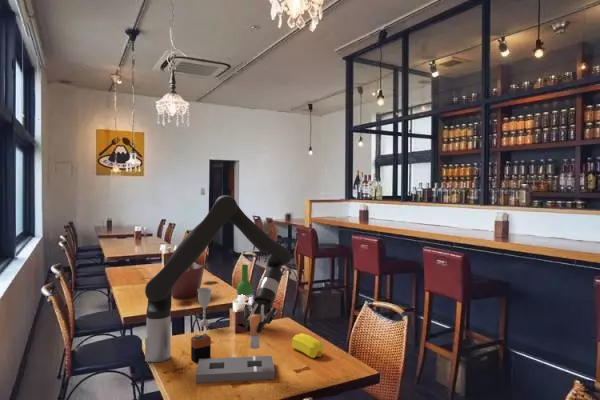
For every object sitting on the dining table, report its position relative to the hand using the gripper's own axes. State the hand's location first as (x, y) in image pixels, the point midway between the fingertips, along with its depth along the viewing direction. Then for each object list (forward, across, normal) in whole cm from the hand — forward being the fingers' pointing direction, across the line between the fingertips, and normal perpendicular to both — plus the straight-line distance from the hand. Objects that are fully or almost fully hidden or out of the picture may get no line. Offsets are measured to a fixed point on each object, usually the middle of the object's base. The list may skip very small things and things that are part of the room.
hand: (252, 331), depth 158 cm
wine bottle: (-24, -31, +47) cm, 61 cm away
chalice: (-17, -48, +39) cm, 65 cm away
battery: (+9, -25, +14) cm, 30 cm away
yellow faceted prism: (-8, +11, +31) cm, 34 cm away
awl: (+3, 0, +6) cm, 7 cm away
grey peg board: (+12, -6, +10) cm, 17 cm away
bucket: (-47, -93, +70) cm, 125 cm away
